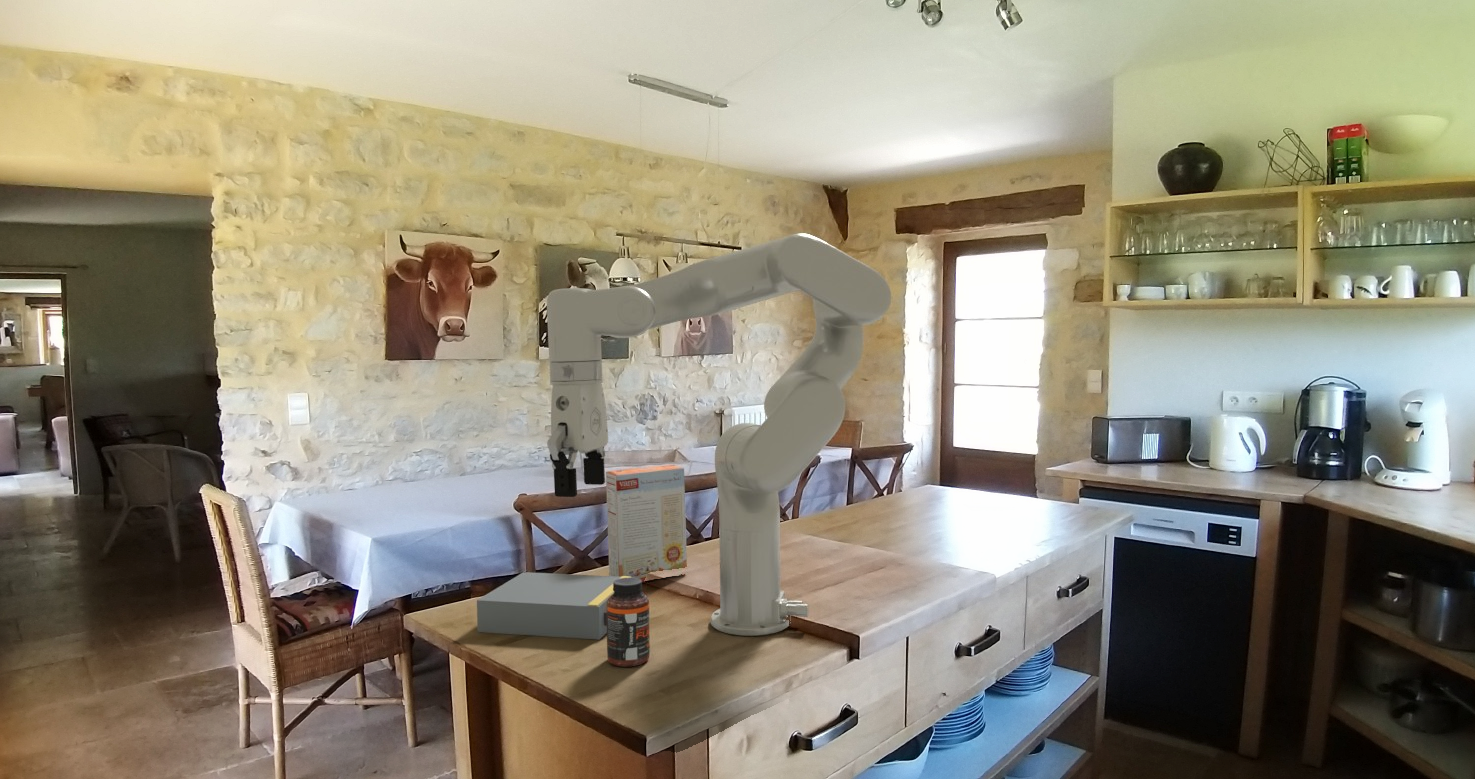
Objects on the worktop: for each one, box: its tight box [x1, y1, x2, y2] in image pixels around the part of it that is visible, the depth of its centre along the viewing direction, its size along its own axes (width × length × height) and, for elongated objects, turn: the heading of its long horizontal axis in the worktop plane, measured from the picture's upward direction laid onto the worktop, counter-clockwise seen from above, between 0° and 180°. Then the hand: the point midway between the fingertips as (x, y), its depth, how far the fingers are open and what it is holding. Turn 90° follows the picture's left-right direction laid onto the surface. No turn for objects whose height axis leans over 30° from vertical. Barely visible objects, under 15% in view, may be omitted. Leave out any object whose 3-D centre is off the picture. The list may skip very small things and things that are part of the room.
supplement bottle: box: [606, 578, 651, 668], centre depth 117 cm, size 6×6×11 cm
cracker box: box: [605, 464, 688, 583], centre depth 158 cm, size 14×6×21 cm, turn 120°
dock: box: [476, 571, 633, 641], centre depth 135 cm, size 21×16×5 cm
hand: (580, 490), depth 123 cm, fingers open, 9 cm apart
